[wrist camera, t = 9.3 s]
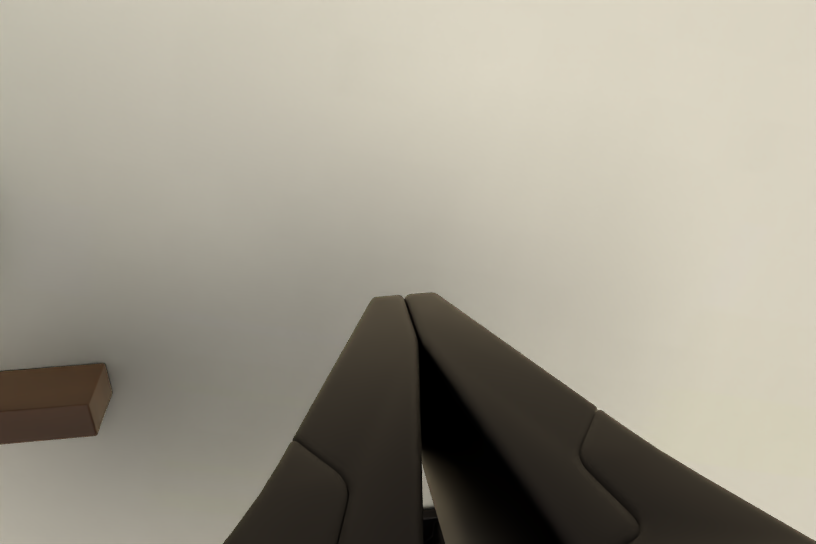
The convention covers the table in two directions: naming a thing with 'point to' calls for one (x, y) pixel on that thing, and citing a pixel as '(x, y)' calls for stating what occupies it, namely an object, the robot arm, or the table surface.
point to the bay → (53, 402)
